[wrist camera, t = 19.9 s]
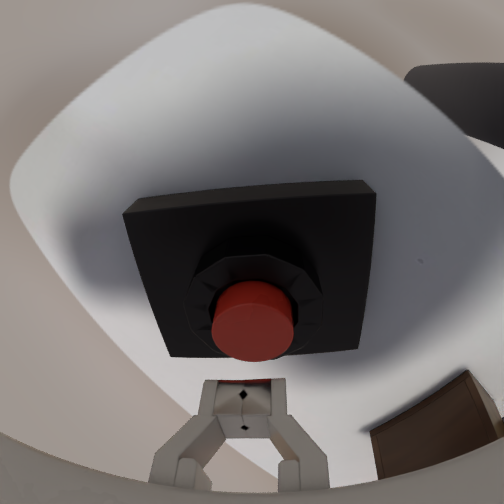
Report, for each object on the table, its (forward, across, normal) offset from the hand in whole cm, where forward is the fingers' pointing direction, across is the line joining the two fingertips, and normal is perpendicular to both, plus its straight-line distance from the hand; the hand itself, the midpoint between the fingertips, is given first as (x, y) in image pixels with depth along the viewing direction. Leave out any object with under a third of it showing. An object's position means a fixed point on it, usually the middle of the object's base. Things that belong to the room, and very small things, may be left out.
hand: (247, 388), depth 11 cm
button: (+4, 0, 0) cm, 5 cm away
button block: (+8, 0, 0) cm, 8 cm away
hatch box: (+8, -20, +23) cm, 32 cm away
